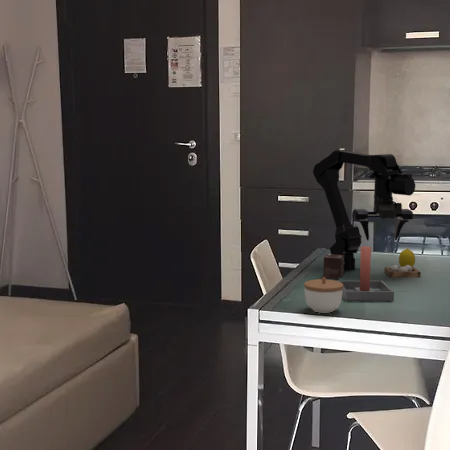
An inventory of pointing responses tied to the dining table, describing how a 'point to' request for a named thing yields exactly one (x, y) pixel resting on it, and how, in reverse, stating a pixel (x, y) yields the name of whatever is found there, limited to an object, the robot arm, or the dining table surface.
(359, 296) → the bin
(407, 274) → the pebble tray
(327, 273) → the box
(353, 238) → the robot arm
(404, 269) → the grey ball
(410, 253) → the lemon
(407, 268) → the pebble
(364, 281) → the red post on base
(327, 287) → the lidded jar
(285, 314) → the dining table surface
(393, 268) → the grey sphere
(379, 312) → the dining table surface
